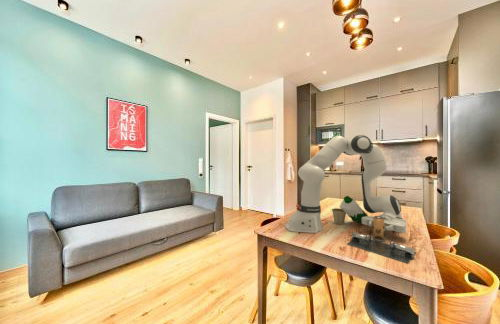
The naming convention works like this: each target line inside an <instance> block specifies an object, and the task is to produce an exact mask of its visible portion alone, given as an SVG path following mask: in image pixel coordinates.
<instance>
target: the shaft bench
mask: <svg viewBox="0 0 500 324" xmlns="http://www.w3.org/2000/svg"><path fill="white" fill-rule="evenodd" d="M350 236H351V240H350V241H349V242H347V243H346V245H348V246H350V247H355V248H358V249H361V250H364V251H367V252H370V253H374V254H377V255H380V256H383V257H384V258H385V257H386V258H390V259H392V260H395V261H399V262H401V263H404V262H405V264H407V263H408V264H409V263H410V262H411V260H412V261H413V258H414V257H415V255H416V254H417V251H415V248H414V247H410V246H407V245H403V244H399V243H396V242H395V241H393V240H390V242H389V244H388V243H385V242H378V241H375V240H373V239H372V235H369V234H361V233H358V232H354V231H352V232H351V234H350Z"/></svg>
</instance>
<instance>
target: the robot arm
mask: <svg viewBox="0 0 500 324" xmlns="http://www.w3.org/2000/svg"><path fill="white" fill-rule="evenodd" d="M343 154H344V155H347V156H356V155H359V156H360V157H361V158H362V162H363V165H364V171H363V172H361V179H360V180H361V187H362V188H361V190H362V197H363V198H362V201H363V202H362V205H363V210H364V211H366V212H367V213H369V214H378V213H382V214H380V215H378V216H381V217H383V218H384V231H393V232H397V233H401V234H405V233H406V232H407V222H406V219H405V218H403V216H402V213H401V212H402V207H401V203H400V200H399V199H398V198H396V197H395V196H393V195H381V196H373V195H372V188H371V187H372V186H371V184H372V181H373V180H375V179H377V178H379V177H380V176H382V175H383V174H384V173H385V172H386V171H387V162H386V160H385V156H384V154H383V152H382V150H381V148H380V146H379V145H378V144H375V143H373V142H372V140H371V139H370V138H369V137H368V136H366V135H365V134H364V135H363V134H362V135H361V134H359V135H355V136H353V137H350V138H348V139H347V138H345V137H344V136H342V135H336V136H334V137H332V138H331V139H329V141H327V142H326V143H325V144H324V145H323V147H322V148H320V150H319V151H317V153H316V154H315V155H314V156H312V157H311V158H310V159H308V161H307V162H305V163H304V164H303V165H302V166H301V167H299V169H298V172H297V175H298V177H299V178H300V180H301V181H303V183H302V188H301V191H300V195H301V196H300V202H301V203H300V204H297V203H296V204H295V206H296V208H297V210H296V211H295V212H293V214H291V215H289V219H288V222H286V223H285V229H286V230H288V231H289V232H292V233H294V232H295V233H311V234H318V233H319V232H321V231H322V230H323V229H324V228H323V225H322V224H323V223H322V221H321V220H322V219H321V213H322V212H321V211H322V207H321V198H320V197H321V189H322V183H323V181H324V179H325V177H326V176H325V170H326V169H328V168H330V167H331V166H332V165H333V164H334V163H335V162H336V160H338V158H340V156H341V155H343ZM373 217H374V216H371V215H368V216H365V217H362V224H361V225H366V226H368V227H372V228H373Z"/></svg>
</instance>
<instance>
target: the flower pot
mask: <svg viewBox="0 0 500 324" xmlns="http://www.w3.org/2000/svg"><path fill="white" fill-rule="evenodd" d="M331 212H332V216H333V217H332V218H333V222H334V224H336V225H344V224H345V220H346V215H347V214H346V213H345V212H344V211H343V210H342V209H341V208H332V209H331Z"/></svg>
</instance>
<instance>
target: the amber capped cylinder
mask: <svg viewBox="0 0 500 324" xmlns="http://www.w3.org/2000/svg"><path fill="white" fill-rule="evenodd" d="M372 217H373V227H372V229H373V230H372V234H373V235H372V240H374V241H378V242H382V243H385V242H386V238H385V230H384V218H383V217H381V216H379V215H374V216H372Z"/></svg>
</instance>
